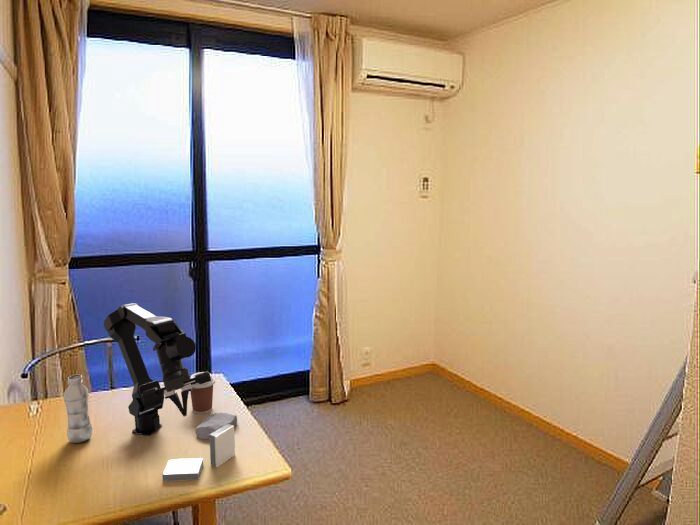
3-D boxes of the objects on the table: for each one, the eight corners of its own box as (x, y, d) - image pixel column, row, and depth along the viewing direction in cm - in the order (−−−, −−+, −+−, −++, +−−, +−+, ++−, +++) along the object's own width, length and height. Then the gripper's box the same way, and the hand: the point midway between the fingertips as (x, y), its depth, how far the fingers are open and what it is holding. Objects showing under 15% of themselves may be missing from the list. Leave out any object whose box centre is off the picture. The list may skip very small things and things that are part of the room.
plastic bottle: (96, 439, 150) (91, 376, 147) (72, 448, 146) (66, 383, 142) (88, 432, 155) (83, 370, 151) (64, 440, 150) (58, 377, 146)
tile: (210, 464, 138) (209, 434, 137) (228, 452, 144) (227, 423, 143) (217, 467, 137) (216, 436, 136) (234, 455, 143) (234, 425, 142)
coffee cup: (204, 401, 177) (203, 368, 175) (221, 408, 172) (220, 375, 170) (182, 410, 170) (181, 376, 168) (200, 418, 164) (198, 383, 162)
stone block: (194, 443, 153) (223, 441, 150) (190, 428, 152) (220, 426, 150) (212, 426, 164) (240, 423, 162) (209, 412, 164) (237, 409, 162)
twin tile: (162, 482, 131) (162, 474, 130) (169, 467, 138) (169, 459, 137) (198, 481, 132) (197, 473, 131) (203, 466, 138) (203, 458, 138)
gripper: (132, 374, 132) (147, 432, 131) (203, 352, 138) (218, 408, 137) (137, 372, 143) (152, 426, 142) (203, 352, 149) (218, 403, 147)
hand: (185, 416), depth 142 cm, fingers closed
